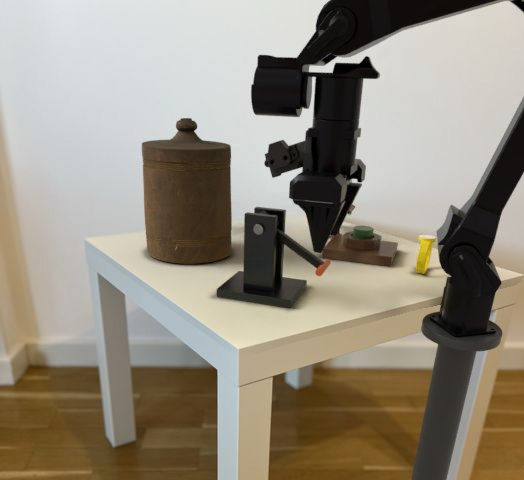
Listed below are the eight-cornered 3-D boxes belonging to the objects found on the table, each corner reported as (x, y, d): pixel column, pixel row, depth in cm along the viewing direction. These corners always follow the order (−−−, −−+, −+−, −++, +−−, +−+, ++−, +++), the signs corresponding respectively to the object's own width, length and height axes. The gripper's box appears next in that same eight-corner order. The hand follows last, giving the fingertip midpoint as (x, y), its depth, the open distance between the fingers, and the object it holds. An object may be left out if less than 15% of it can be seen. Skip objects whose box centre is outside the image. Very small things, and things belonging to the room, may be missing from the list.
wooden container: (207, 237, 107) (206, 114, 97) (246, 257, 95) (249, 121, 86) (134, 246, 99) (124, 115, 89) (167, 269, 88) (160, 122, 78)
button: (373, 236, 99) (375, 226, 98) (370, 241, 96) (372, 231, 95) (354, 234, 100) (355, 224, 99) (350, 238, 97) (351, 229, 96)
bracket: (306, 287, 83) (312, 209, 78) (290, 308, 75) (295, 223, 70) (238, 277, 86) (239, 201, 81) (216, 296, 78) (216, 214, 73)
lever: (325, 270, 79) (334, 257, 77) (317, 281, 74) (327, 268, 73) (258, 221, 79) (267, 208, 78) (246, 229, 75) (255, 215, 73)
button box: (396, 251, 102) (399, 232, 101) (390, 266, 94) (393, 246, 92) (333, 243, 105) (335, 225, 104) (322, 257, 97) (323, 238, 95)
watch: (427, 278, 89) (433, 242, 86) (409, 275, 90) (415, 239, 87) (432, 267, 94) (438, 233, 91) (416, 265, 95) (421, 231, 92)
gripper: (293, 112, 78) (287, 222, 85) (249, 120, 62) (246, 254, 69) (372, 116, 75) (359, 230, 82) (346, 125, 59) (333, 265, 66)
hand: (325, 243), depth 74 cm, fingers open, 9 cm apart
